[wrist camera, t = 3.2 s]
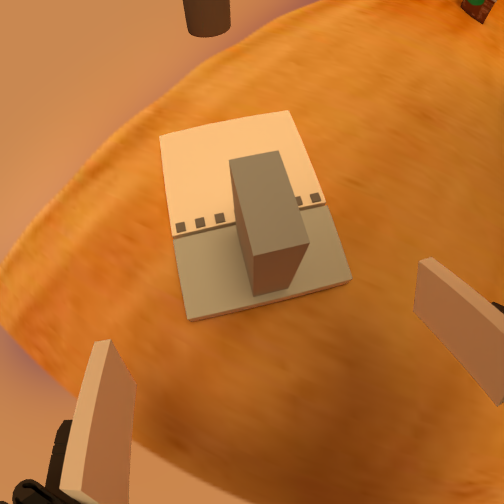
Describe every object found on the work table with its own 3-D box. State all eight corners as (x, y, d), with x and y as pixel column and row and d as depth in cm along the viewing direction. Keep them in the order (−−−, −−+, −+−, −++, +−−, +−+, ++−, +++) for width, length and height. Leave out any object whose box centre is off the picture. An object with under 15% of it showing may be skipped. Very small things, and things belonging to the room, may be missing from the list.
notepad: (163, 145, 28) (158, 134, 26) (287, 120, 29) (288, 108, 27) (176, 243, 25) (171, 235, 23) (322, 210, 26) (326, 200, 24)
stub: (177, 246, 25) (133, 174, 15) (323, 213, 26) (359, 130, 16) (191, 321, 23) (146, 292, 13) (347, 283, 24) (405, 230, 14)
